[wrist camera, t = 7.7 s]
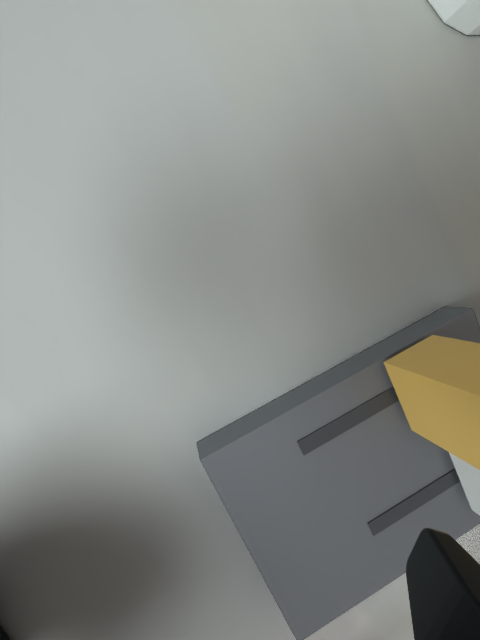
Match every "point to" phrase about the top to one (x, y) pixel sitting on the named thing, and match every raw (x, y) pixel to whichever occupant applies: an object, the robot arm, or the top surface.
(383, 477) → the grey slotted board
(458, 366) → the amber slider
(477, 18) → the white cup
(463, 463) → the grey slider
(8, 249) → the top surface
